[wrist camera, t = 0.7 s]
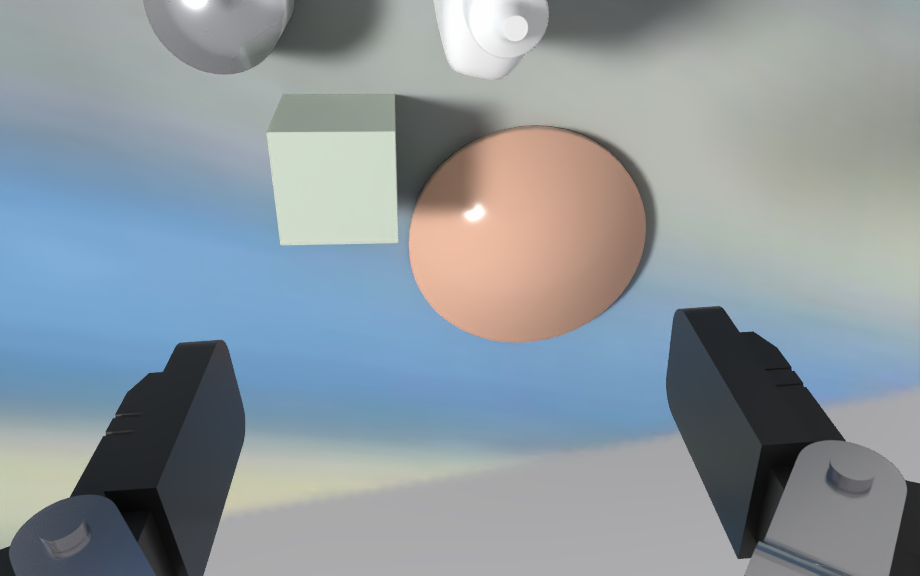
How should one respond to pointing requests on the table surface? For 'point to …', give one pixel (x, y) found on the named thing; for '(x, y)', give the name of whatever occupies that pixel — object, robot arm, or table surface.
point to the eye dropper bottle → (489, 33)
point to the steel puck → (219, 31)
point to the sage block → (335, 168)
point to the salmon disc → (526, 234)
